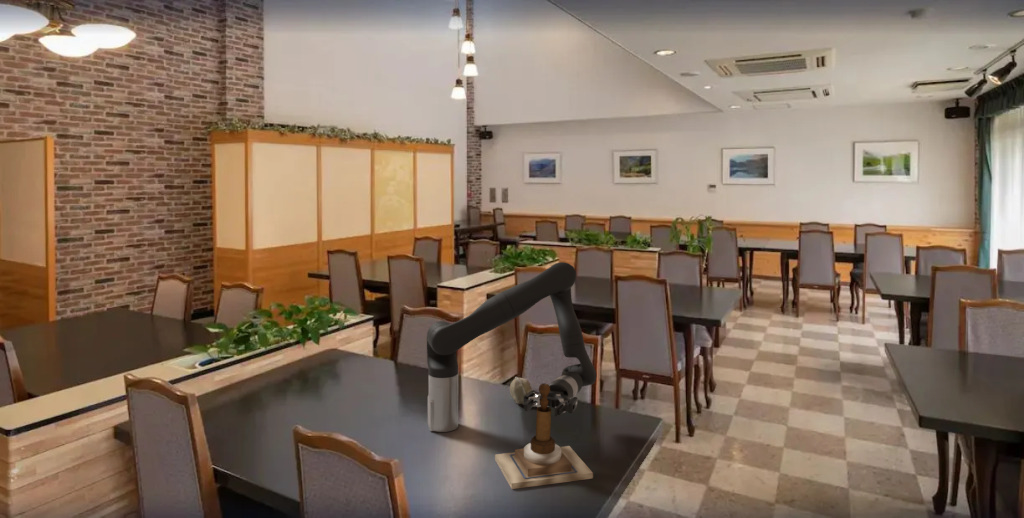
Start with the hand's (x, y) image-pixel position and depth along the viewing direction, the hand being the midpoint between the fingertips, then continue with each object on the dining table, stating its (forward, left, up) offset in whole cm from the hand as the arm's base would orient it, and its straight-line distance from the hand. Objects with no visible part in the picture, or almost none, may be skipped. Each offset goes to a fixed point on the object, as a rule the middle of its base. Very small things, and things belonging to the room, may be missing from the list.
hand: (540, 410), depth 160 cm
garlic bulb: (+10, +51, -17) cm, 55 cm away
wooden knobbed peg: (+1, +2, -12) cm, 12 cm away
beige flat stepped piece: (+1, +1, -17) cm, 17 cm away
